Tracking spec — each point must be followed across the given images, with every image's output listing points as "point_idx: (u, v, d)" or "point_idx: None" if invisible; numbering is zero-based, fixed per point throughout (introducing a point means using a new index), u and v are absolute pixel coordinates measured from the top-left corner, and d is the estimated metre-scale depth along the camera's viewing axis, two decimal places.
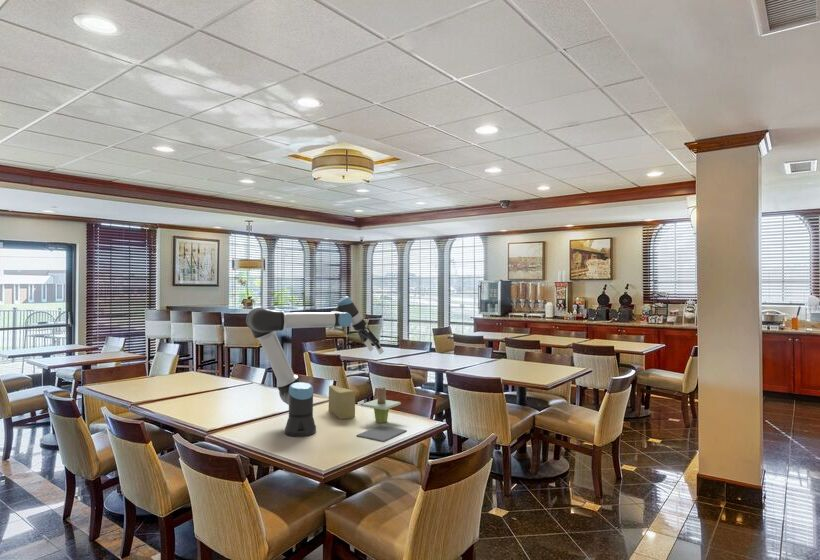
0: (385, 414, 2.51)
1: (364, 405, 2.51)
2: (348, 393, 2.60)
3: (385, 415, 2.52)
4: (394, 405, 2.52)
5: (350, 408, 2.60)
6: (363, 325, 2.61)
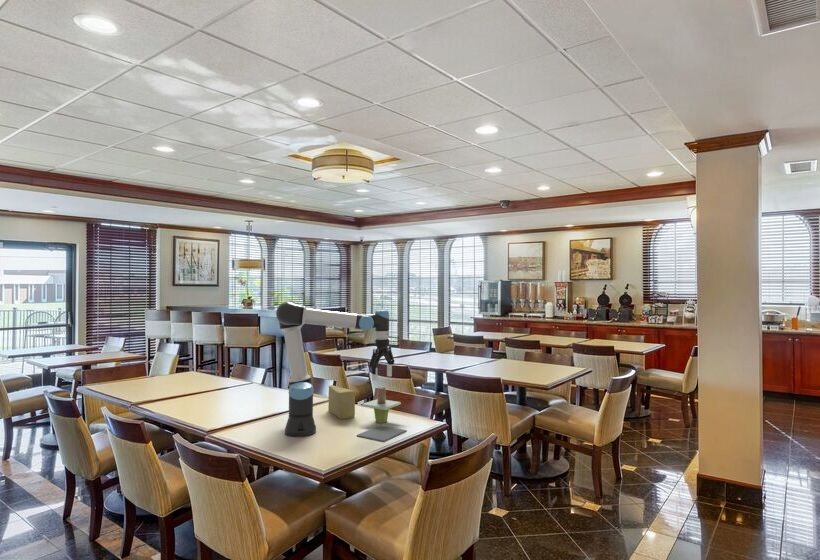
0: (385, 414, 2.51)
1: (364, 405, 2.51)
2: (348, 393, 2.60)
3: (385, 415, 2.52)
4: (394, 405, 2.52)
5: (349, 408, 2.60)
6: (379, 345, 2.52)
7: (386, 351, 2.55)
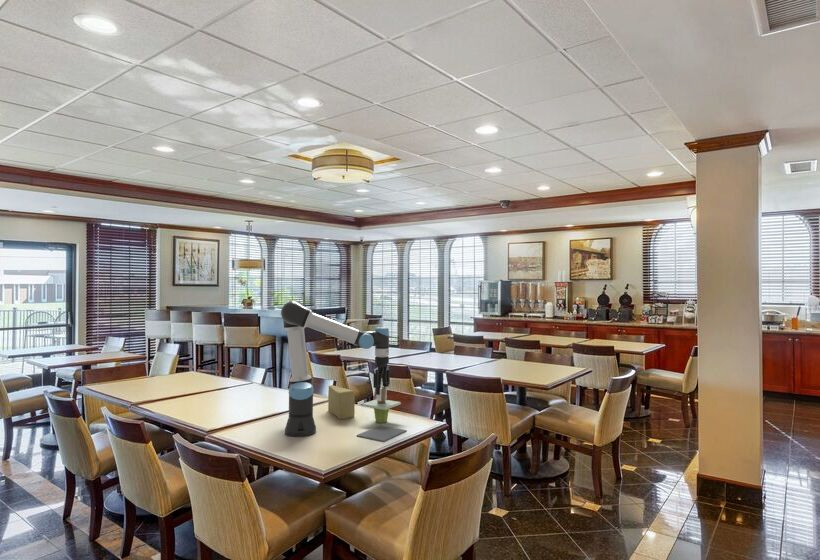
0: (385, 414, 2.51)
1: (364, 405, 2.51)
2: (347, 393, 2.60)
3: (385, 415, 2.52)
4: (394, 405, 2.52)
5: (349, 408, 2.61)
6: (378, 362, 2.51)
7: (386, 368, 2.55)
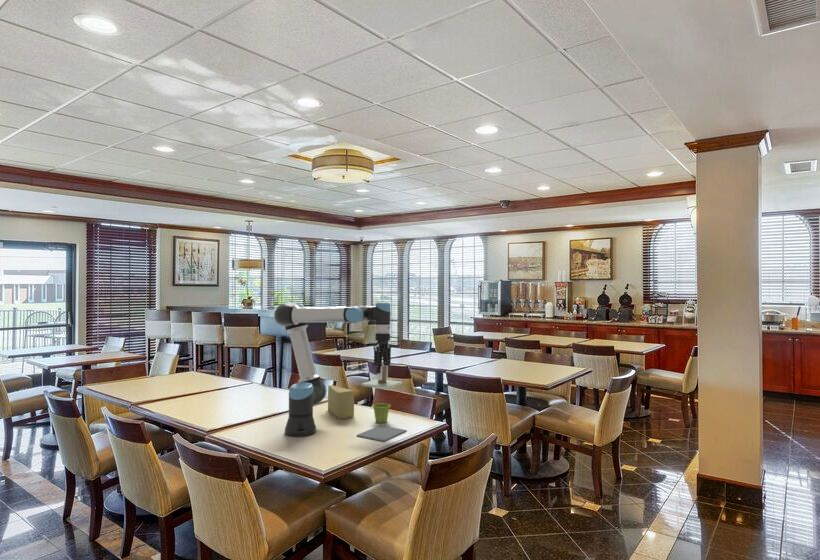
0: (385, 414, 2.51)
1: (364, 384, 2.35)
2: (347, 393, 2.60)
3: (385, 415, 2.52)
4: (396, 384, 2.37)
5: (349, 408, 2.61)
6: (379, 339, 2.36)
7: (387, 346, 2.40)
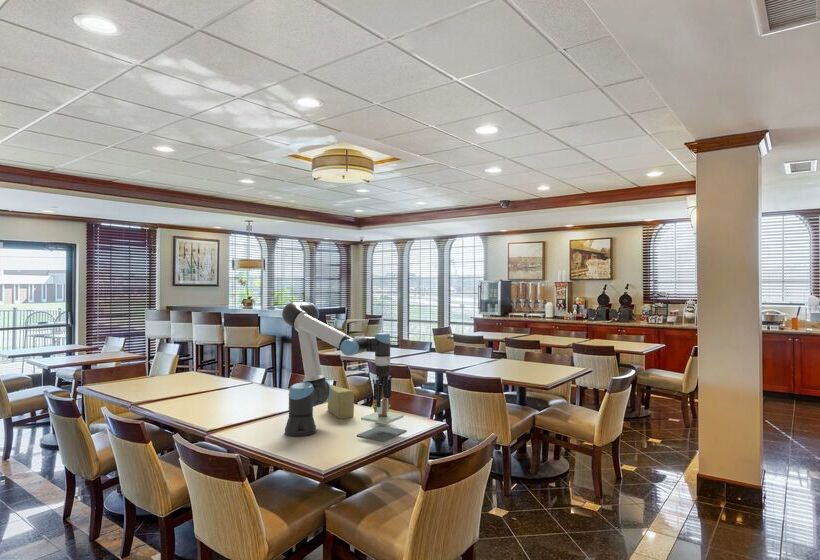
0: None
1: (363, 419, 2.29)
2: (347, 393, 2.61)
3: None
4: (396, 418, 2.29)
5: (348, 407, 2.61)
6: (379, 371, 2.29)
7: (387, 378, 2.33)
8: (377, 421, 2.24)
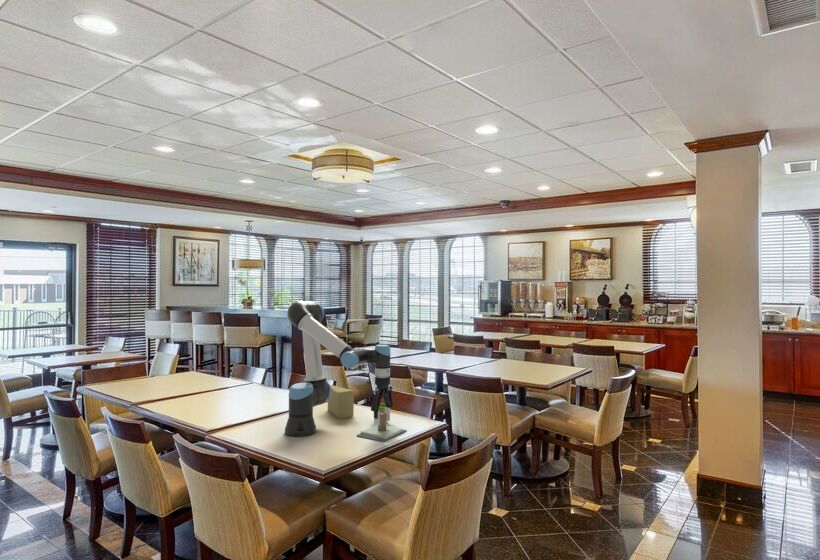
0: None
1: (363, 433, 2.29)
2: (346, 393, 2.61)
3: None
4: (396, 433, 2.29)
5: (348, 407, 2.61)
6: (379, 383, 2.29)
7: (387, 390, 2.33)
8: (376, 435, 2.24)
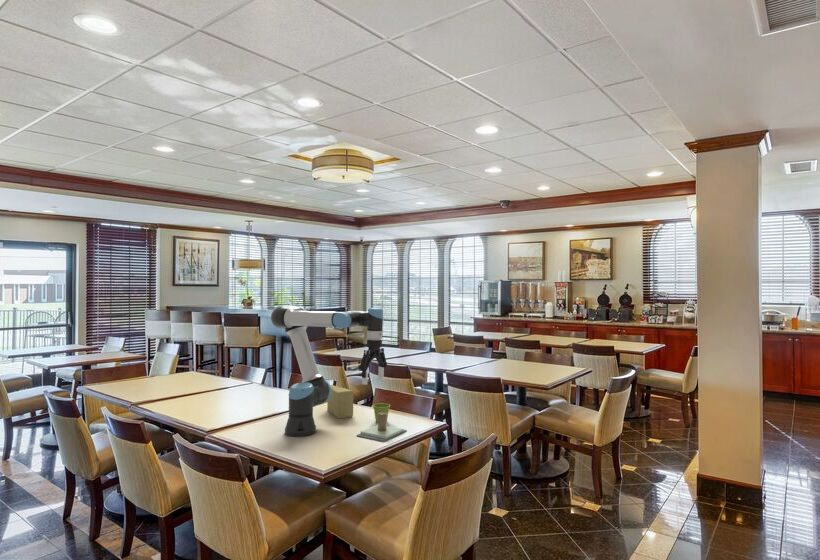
0: None
1: (363, 433, 2.29)
2: (346, 393, 2.61)
3: None
4: (396, 433, 2.29)
5: (348, 407, 2.61)
6: (370, 346, 2.31)
7: (378, 353, 2.34)
8: (376, 435, 2.24)
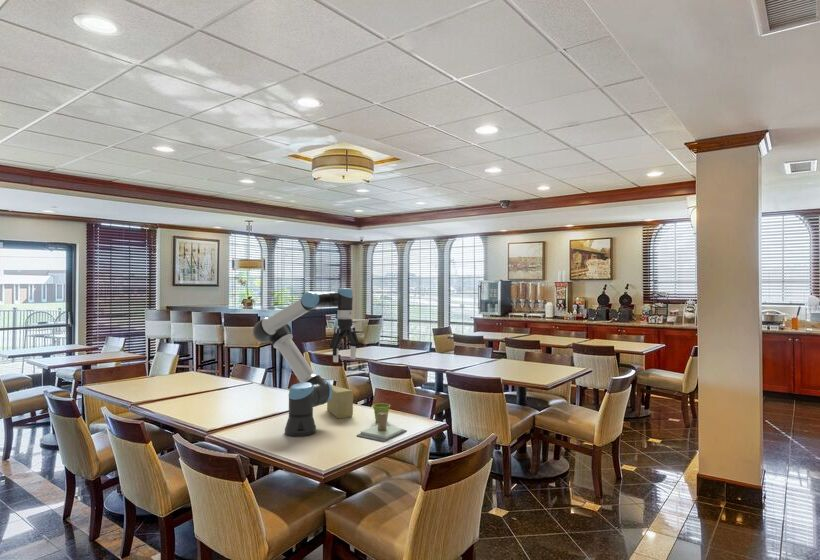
0: None
1: (363, 433, 2.29)
2: (346, 393, 2.61)
3: None
4: (396, 433, 2.29)
5: (347, 407, 2.62)
6: (341, 324, 2.36)
7: (349, 332, 2.39)
8: (376, 435, 2.24)
